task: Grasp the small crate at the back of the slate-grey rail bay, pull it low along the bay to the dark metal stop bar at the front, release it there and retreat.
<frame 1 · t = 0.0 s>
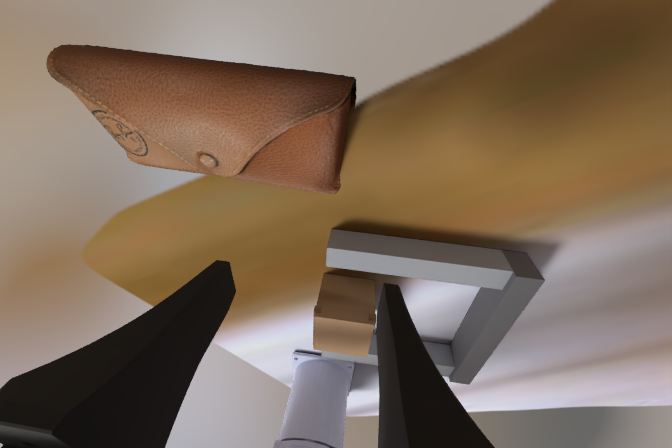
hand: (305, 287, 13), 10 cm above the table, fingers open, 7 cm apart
bay: (396, 301, 27), on the table
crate: (347, 293, 28), on the table
sunglasses case: (229, 122, 20), on the table
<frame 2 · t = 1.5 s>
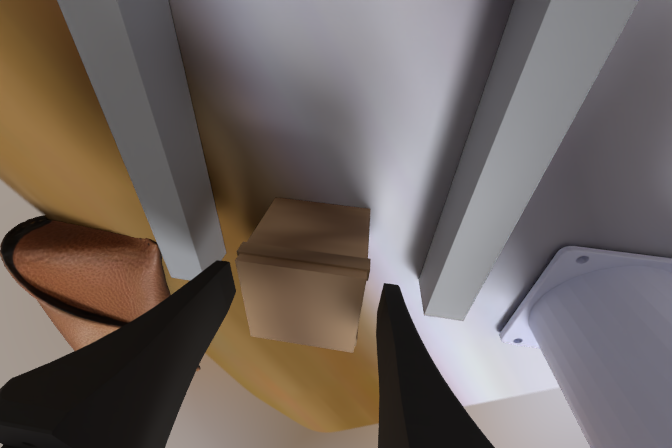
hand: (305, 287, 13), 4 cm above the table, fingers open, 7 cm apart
bay: (324, 157, 13), on the table
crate: (321, 239, 16), on the table
sunglasses case: (142, 304, 23), on the table
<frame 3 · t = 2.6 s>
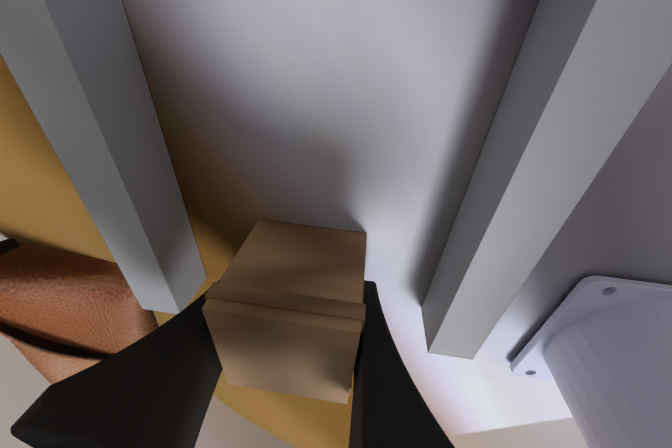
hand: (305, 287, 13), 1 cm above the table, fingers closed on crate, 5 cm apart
bay: (312, 176, 11), on the table
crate: (311, 265, 14), on the table, touching gripper
sunglasses case: (127, 328, 21), on the table
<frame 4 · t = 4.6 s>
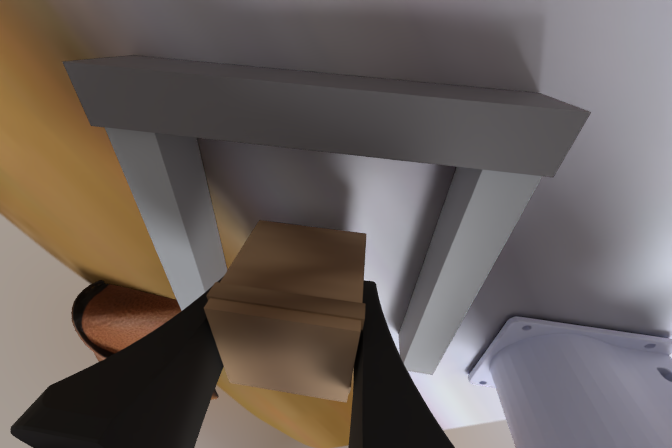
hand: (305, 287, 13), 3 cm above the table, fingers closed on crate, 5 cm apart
bay: (318, 249, 16), on the table
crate: (311, 266, 14), point 2 cm above the table, touching gripper
sunglasses case: (173, 345, 26), on the table
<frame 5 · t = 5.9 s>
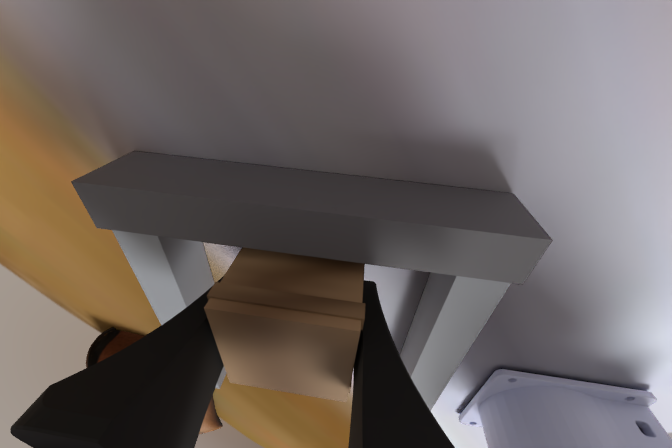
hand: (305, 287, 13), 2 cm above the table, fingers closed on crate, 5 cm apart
bay: (312, 308, 17), on the table
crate: (311, 265, 14), on the table, touching gripper
sunglasses case: (180, 380, 27), on the table
when the fingers open (2 cm above the table, at t = 6.6 s): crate stays where it is, on the table.
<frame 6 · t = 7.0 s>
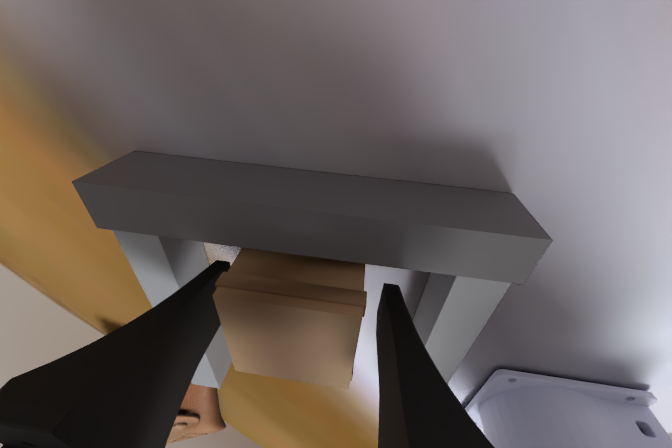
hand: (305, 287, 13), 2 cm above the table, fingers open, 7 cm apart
bay: (312, 308, 17), on the table
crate: (314, 259, 14), on the table
sunglasses case: (185, 381, 27), on the table
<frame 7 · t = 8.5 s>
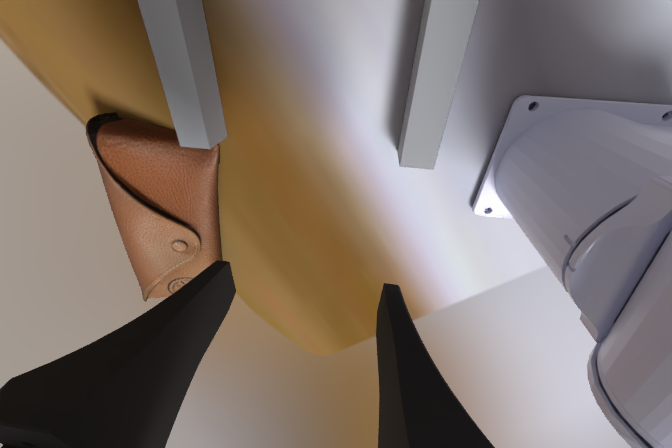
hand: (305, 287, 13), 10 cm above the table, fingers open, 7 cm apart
bay: (309, 18, 15), on the table
sunglasses case: (185, 218, 25), on the table
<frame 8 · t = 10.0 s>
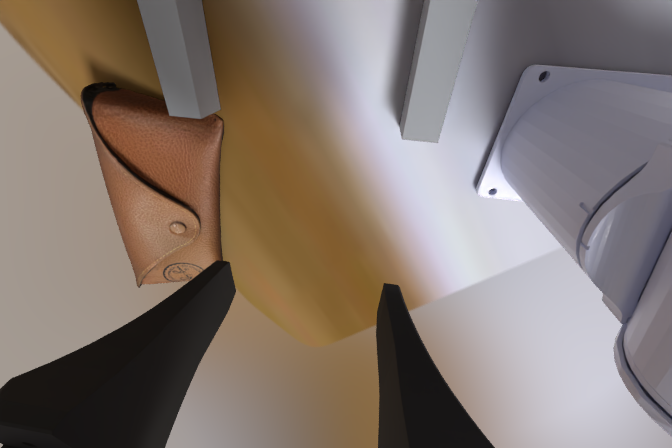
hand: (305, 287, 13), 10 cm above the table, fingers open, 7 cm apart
sunglasses case: (184, 200, 24), on the table
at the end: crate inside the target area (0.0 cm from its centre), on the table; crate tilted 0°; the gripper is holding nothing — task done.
